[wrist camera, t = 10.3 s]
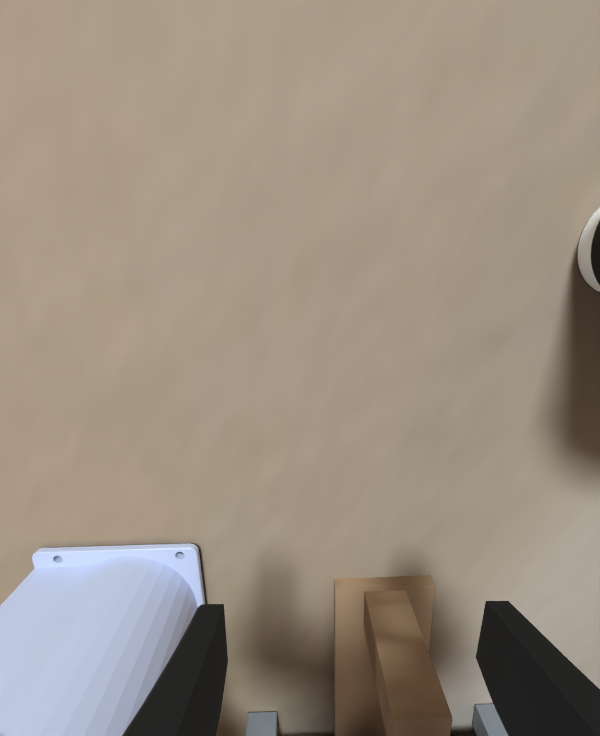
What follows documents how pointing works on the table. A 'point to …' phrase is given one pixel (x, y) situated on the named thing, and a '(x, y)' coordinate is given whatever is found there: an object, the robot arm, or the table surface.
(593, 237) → the dixie cup
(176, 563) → the robot arm
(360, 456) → the table surface
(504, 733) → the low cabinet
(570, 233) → the table surface
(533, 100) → the table surface
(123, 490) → the table surface
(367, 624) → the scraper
